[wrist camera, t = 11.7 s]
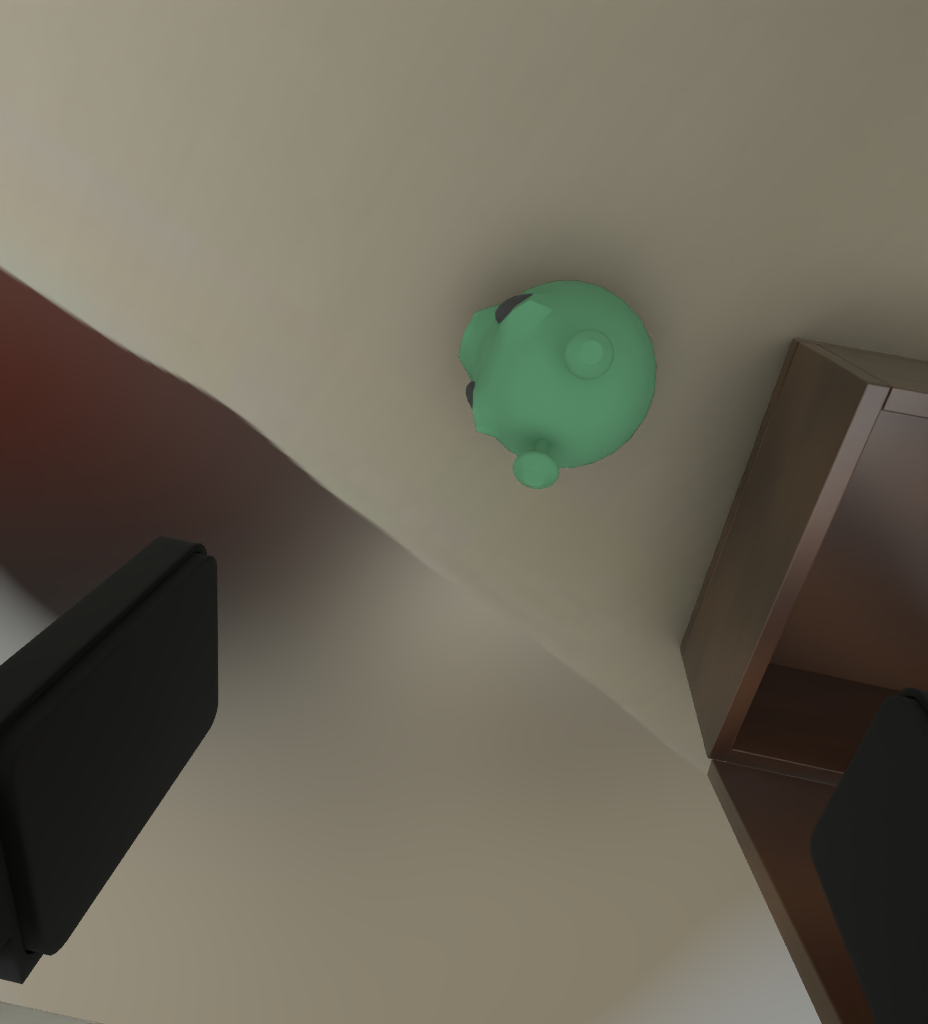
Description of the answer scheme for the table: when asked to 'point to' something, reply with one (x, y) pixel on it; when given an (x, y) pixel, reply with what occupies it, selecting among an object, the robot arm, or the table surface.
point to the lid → (792, 879)
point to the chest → (818, 568)
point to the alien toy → (558, 376)
